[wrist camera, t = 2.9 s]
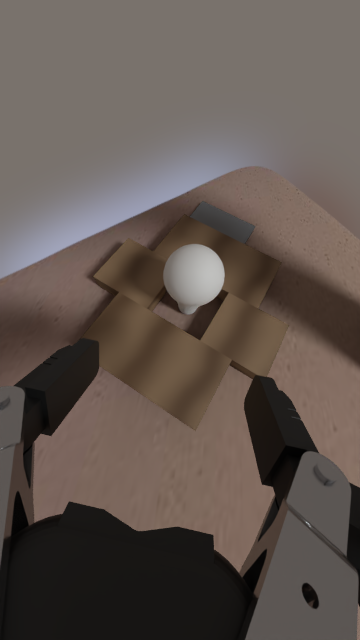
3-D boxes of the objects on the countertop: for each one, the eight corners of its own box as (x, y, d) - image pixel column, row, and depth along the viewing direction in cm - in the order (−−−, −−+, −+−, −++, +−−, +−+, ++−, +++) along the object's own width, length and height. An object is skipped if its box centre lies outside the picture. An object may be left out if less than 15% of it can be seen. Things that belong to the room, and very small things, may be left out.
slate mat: (253, 229, 33) (255, 226, 33) (230, 266, 30) (231, 264, 30) (202, 204, 35) (202, 201, 34) (174, 237, 32) (174, 235, 31)
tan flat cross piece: (298, 285, 30) (309, 276, 27) (225, 449, 22) (232, 456, 19) (161, 216, 33) (161, 202, 31) (56, 334, 25) (44, 328, 23)
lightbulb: (196, 337, 26) (214, 299, 16) (156, 316, 27) (148, 267, 17) (216, 301, 28) (243, 246, 18) (178, 282, 29) (183, 219, 19)
